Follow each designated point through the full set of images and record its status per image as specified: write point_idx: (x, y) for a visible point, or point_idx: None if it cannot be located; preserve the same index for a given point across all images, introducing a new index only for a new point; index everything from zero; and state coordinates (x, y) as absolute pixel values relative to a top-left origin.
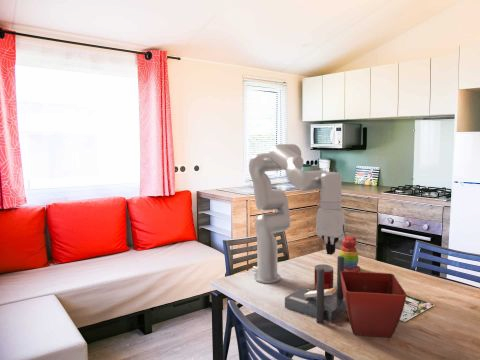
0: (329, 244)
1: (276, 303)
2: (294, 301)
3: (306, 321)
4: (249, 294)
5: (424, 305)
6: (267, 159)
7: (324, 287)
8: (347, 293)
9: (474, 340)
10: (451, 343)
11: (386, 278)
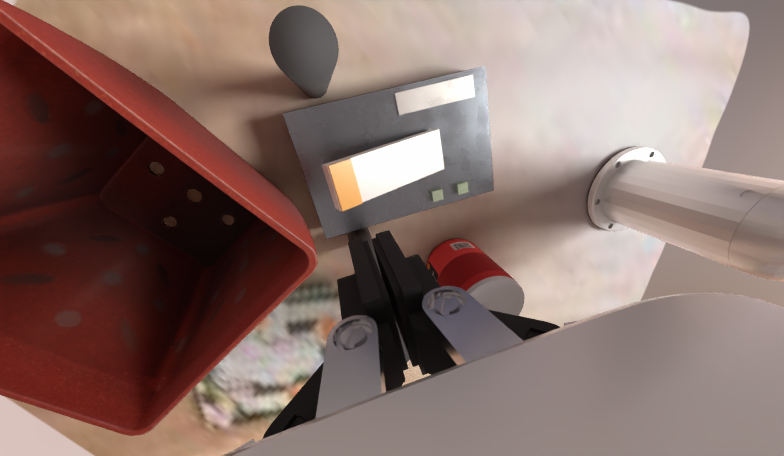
0: (380, 297)
1: (505, 71)
2: (442, 76)
3: (347, 47)
4: (611, 47)
5: (219, 409)
6: None
7: (444, 257)
8: None
9: None
10: None
11: (168, 394)
